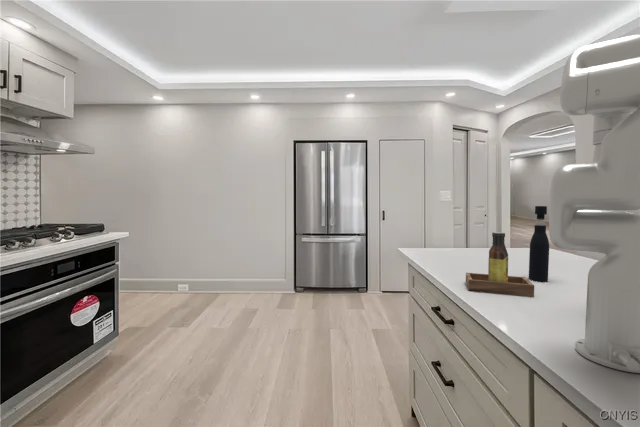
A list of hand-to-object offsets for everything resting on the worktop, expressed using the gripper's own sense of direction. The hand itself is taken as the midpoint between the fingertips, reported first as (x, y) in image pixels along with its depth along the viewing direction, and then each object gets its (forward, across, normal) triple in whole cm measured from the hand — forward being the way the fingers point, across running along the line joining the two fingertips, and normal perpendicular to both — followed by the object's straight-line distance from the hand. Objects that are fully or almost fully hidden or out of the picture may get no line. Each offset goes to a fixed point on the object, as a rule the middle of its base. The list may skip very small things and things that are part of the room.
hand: (607, 198), depth 89 cm
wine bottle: (+34, +36, +6) cm, 50 cm away
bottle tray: (+33, +16, +24) cm, 44 cm away
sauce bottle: (+32, +16, +24) cm, 43 cm away
